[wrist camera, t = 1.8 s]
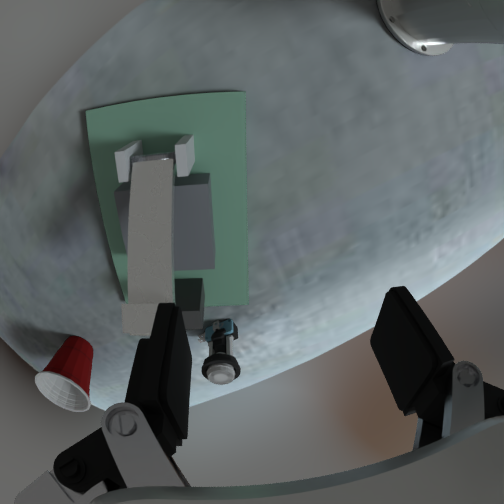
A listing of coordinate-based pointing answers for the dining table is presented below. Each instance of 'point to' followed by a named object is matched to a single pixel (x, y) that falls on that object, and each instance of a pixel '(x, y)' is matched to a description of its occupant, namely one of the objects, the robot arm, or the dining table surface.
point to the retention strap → (150, 241)
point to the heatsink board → (210, 158)
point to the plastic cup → (68, 375)
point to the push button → (220, 353)
